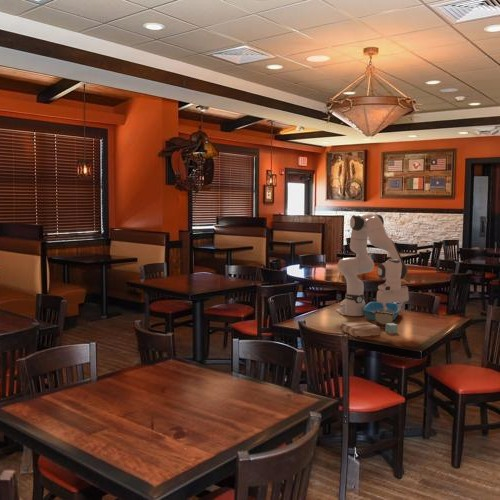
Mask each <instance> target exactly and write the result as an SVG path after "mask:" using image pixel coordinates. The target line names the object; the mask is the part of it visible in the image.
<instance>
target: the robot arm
mask: <svg viewBox="0 0 500 500" xmlns="http://www.w3.org/2000/svg"><path fill="white" fill-rule="evenodd" d="M384 224H385V223H384V217H383V216H382V215H380V214H377V213H375V214H373V213H365V214H364V213H363V214H359V213H358V214H353V215H352V216H351V218H350V219H349V225H350V228H351V234H350V242H349V249H350V251H351V252H352V253H355V257H343V258H341V259H339V260H338V262H337V269H338V271H339V272H340V273H341V274H342V275H343V276H344V278H345V281H346V293H345V297H344V299H343V300H342V301H341V302H339V303H340V304H339V308H336V312H338V313H339V314H340V315H341V316H349V317H351V316H352V317H363V316H365V313H364V310H363V308H364V307H365V306H366V302H365V294H364V289H365V288H364V286H365V285H364V282H363V280H361V279H360V278H358V276H357V275H358V274H367V273H368V274H369V273H371V272H372V271H373V270H374V268H375V262H374V260H373V259H372V257H371V256H370V255H369V253H368V241H369V243H370V244H371V245H372V246H374V247H375V248H378V249H381V250H384V251H385V252H387V253H389V256H390V257H391V258H388V259H387V260H386V261H385V262H382V263H379V264H378V266H377V267H376V275H377V277H379V278H380V279H382V280H385V282H384V283H382V284H379V285H378V286H377V289H378V290H377V292H376V302H379V303H382V305H383V307H384V310H388V309H387V308H388V307H386V303H389V302H390V303H398V304H399V306H397V307H398V308H397V309H400V310H402V307H403V304H404V302H408V301H409V299H410V297H409V287H408V286H407V285H402V280H403V279H404V278H405V277H406V276H407V275H408V270H409V269H408V267H407V265H406V263H405V262H404V261H403V259H402V256H401V254H400V252H399V250H398V248H397V245H396V243H395V242H394V241H393V240H392V239H391V238H390V237H389V236H388V234H387V232H386V229H385V225H384Z"/></svg>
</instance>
